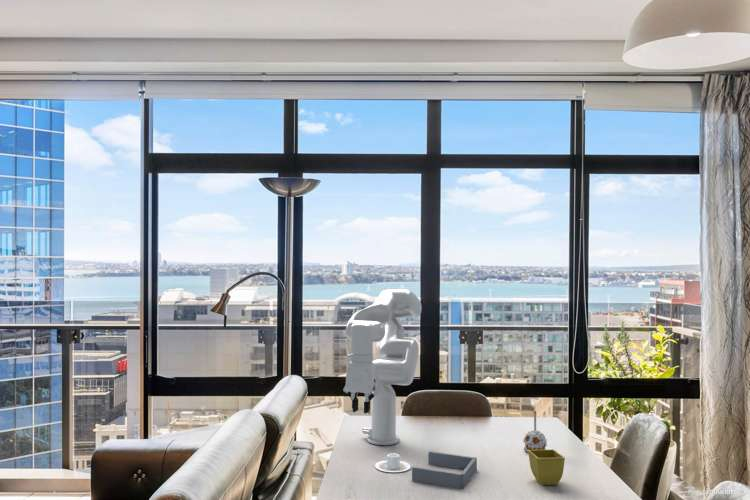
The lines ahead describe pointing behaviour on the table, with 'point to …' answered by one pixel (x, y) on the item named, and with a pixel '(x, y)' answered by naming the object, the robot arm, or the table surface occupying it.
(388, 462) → the candle holder
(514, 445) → the table surface
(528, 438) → the decorative ornament
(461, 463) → the box
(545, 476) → the flower pot
